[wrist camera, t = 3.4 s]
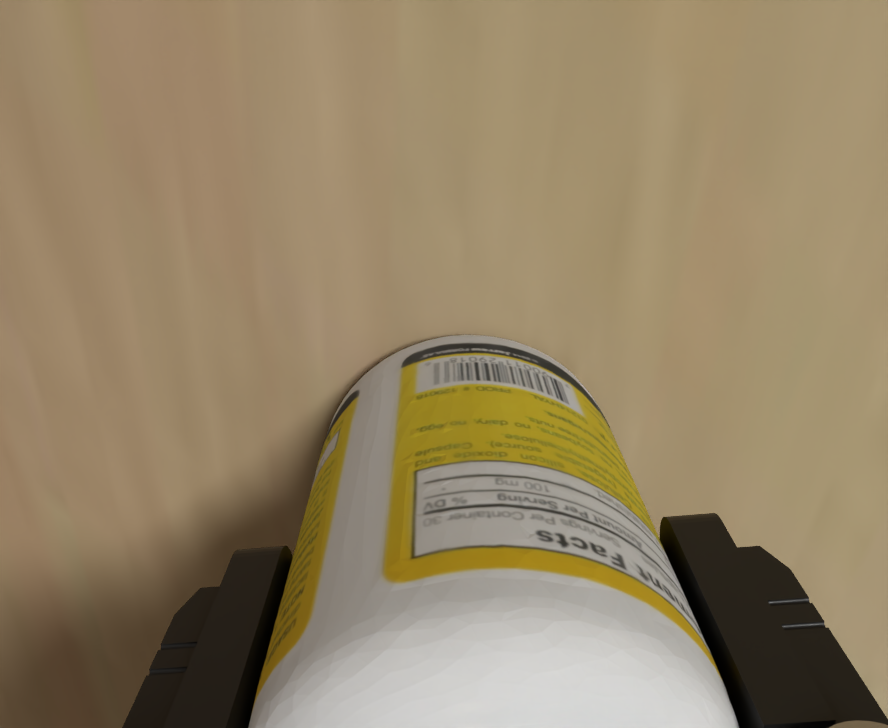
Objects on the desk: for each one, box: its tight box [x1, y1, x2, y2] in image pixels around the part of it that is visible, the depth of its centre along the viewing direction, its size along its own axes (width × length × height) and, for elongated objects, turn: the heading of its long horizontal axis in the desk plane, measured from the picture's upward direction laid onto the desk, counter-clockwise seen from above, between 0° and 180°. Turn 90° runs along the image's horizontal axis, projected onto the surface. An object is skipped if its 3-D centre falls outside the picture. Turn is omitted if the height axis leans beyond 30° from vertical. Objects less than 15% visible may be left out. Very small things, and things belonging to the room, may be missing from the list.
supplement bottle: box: [248, 335, 740, 728], centre depth 10 cm, size 5×5×10 cm
